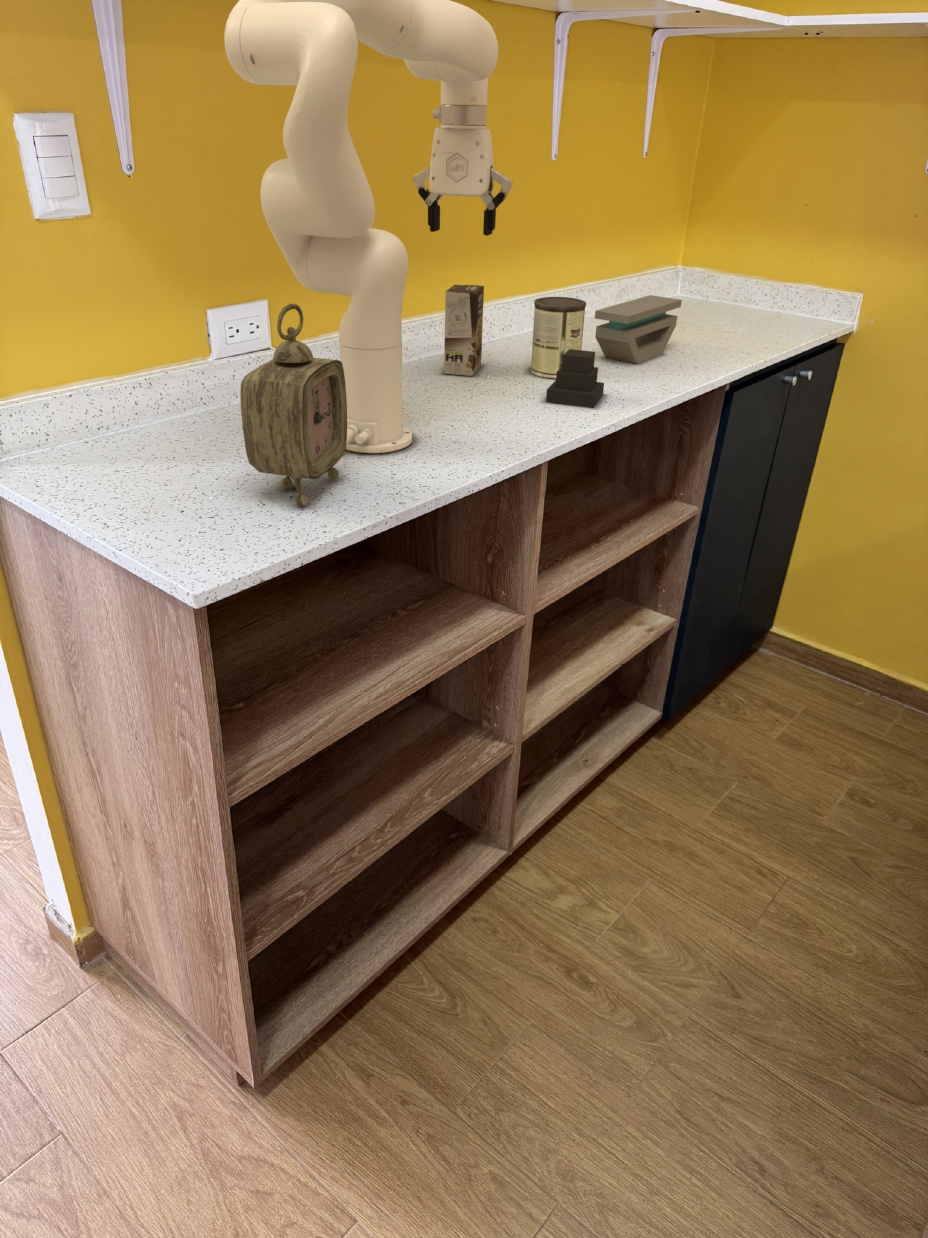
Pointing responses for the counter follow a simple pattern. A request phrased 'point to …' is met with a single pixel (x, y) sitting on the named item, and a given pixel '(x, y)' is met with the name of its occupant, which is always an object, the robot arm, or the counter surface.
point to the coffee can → (555, 332)
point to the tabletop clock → (295, 412)
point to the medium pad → (576, 380)
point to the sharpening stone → (636, 328)
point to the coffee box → (463, 329)
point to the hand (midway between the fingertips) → (461, 232)
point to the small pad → (578, 361)
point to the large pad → (575, 396)
